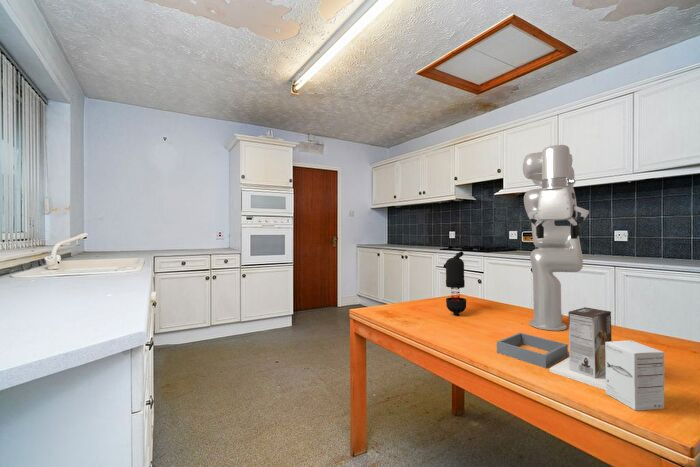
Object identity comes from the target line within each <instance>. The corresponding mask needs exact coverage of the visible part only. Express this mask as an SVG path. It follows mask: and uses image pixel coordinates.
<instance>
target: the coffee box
mask: <svg viewBox="0 0 700 467" xmlns="http://www.w3.org/2000/svg"><path fill="white" fill-rule="evenodd" d="M605 342H612V311H610V310H605V309H604V310H603V309H598V308H592V307H585V306H584V307H581V308H577V309H574V310H569V311H568V344H569V345H568V356H569V357H570V358H569V359H570V370H572V371H575V372H578V373H581V374H584V375H587V376H590V377H593V378H598V377H600V376H602V375H604V374H606V352H605V351H606V349H605V347H606V346H605Z"/></svg>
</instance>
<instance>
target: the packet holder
mask: <svg viewBox="0 0 700 467" xmlns="http://www.w3.org/2000/svg"><path fill="white" fill-rule="evenodd" d="M568 344H569V343H568ZM568 344H567V343H564V342H559V341H556V340H551V339H547V338H545V337H544V338H543V337H540V336H535V335H531V334H528V333H523V332H518V333H516V334H513V335H510V336H508V337H505V338H503V339H500V340H498V341H496V353H497V354H500V355H504V356H507V357H511V358H513V359H517V360H519V361H522V362H526V363H528V364H532V365H535V366H538V367H541V368H545V369H547V368H549V367H552V366H553V365H555V364H557V362H558V363H559V361H562V359H563V360H564V359H566V357H567V358H568V357H569V345H568ZM519 345H524V346H529V347H532V348H535V349H538V350H543V351H546V353H542V352H539V351H538V352H537V351H533V350H530V349H527V348H523V347H521V346H520V347H519Z"/></svg>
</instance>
